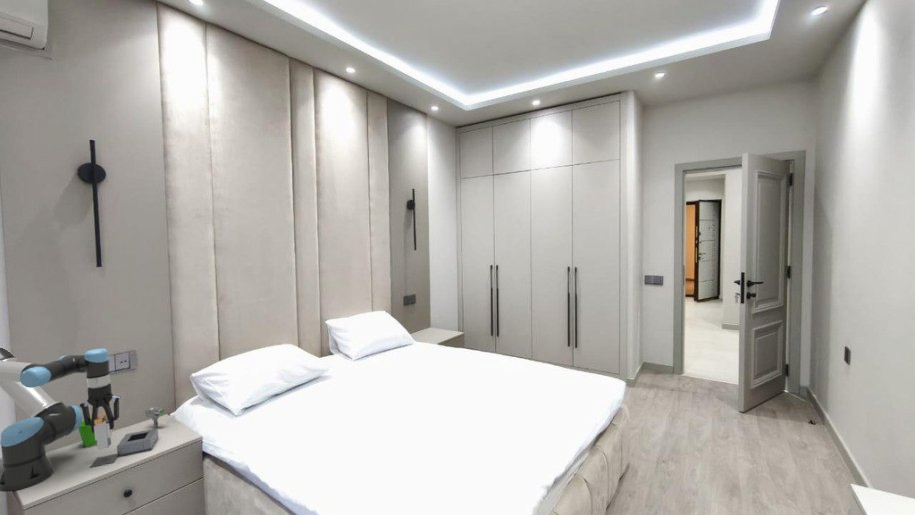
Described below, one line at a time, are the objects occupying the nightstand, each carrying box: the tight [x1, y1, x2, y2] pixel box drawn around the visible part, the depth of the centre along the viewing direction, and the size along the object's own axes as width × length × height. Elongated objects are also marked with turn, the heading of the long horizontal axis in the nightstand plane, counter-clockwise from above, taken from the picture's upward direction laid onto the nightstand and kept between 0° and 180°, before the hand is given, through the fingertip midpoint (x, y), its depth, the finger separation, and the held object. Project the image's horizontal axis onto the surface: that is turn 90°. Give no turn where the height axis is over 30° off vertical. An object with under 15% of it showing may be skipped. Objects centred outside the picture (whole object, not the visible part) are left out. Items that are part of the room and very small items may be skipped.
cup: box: [77, 417, 97, 447], centre depth 187 cm, size 9×9×11 cm
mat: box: [89, 453, 119, 469], centre depth 173 cm, size 8×8×1 cm
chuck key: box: [94, 411, 112, 450], centre depth 172 cm, size 4×8×14 cm, turn 25°
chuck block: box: [116, 427, 159, 458], centre depth 183 cm, size 12×12×5 cm
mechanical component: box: [144, 406, 165, 429], centre depth 202 cm, size 3×10×10 cm, turn 78°
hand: (103, 437), depth 172 cm, fingers closed on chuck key, 3 cm apart
